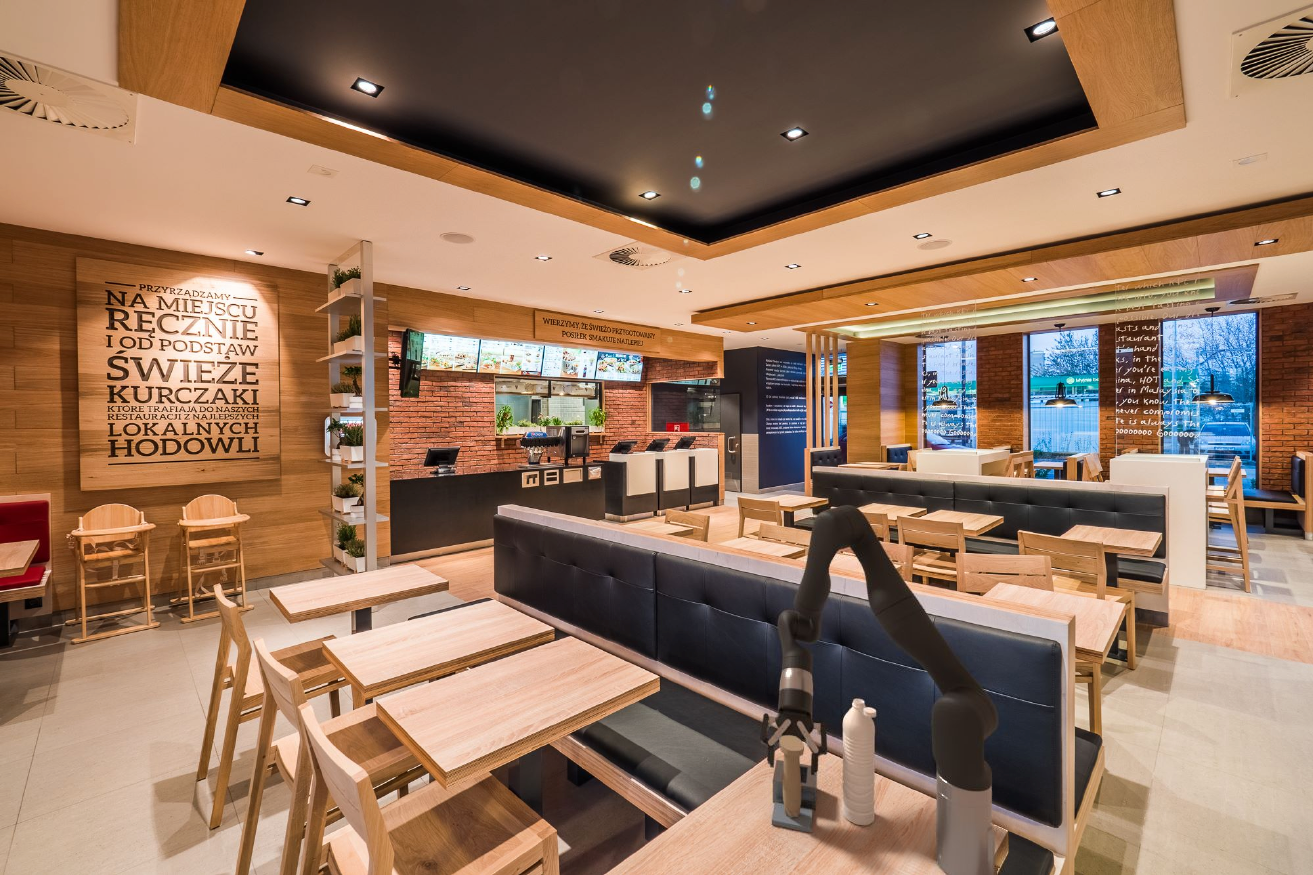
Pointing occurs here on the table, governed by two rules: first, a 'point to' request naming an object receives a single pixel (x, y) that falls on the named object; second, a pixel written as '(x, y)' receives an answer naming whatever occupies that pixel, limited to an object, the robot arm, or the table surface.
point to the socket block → (806, 785)
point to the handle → (791, 774)
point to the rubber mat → (799, 823)
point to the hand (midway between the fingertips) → (792, 770)
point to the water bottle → (858, 764)
